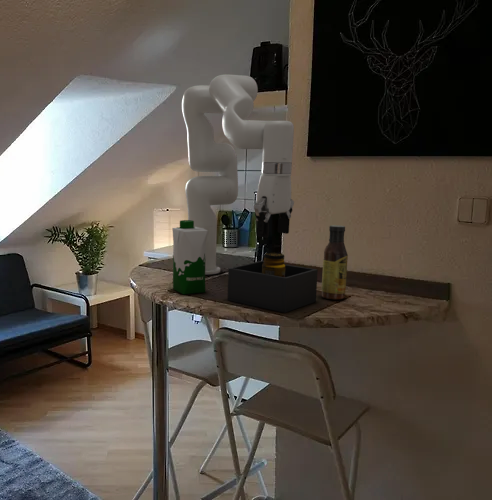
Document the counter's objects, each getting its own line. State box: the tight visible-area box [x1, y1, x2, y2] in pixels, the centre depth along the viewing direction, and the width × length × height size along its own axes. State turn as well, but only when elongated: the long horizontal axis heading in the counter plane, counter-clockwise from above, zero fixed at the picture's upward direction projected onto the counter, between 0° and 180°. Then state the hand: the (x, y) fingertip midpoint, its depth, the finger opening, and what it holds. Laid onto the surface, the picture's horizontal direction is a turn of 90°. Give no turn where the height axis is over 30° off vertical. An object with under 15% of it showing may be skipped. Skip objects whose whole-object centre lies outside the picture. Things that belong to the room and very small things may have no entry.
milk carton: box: [172, 219, 208, 295], centre depth 165 cm, size 9×9×20 cm
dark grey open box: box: [227, 260, 319, 314], centre depth 155 cm, size 18×16×9 cm
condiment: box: [262, 252, 286, 277], centre depth 154 cm, size 7×8×12 cm
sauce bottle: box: [321, 224, 349, 301], centre depth 158 cm, size 6×6×20 cm
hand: (273, 234), depth 153 cm, fingers open, 9 cm apart
